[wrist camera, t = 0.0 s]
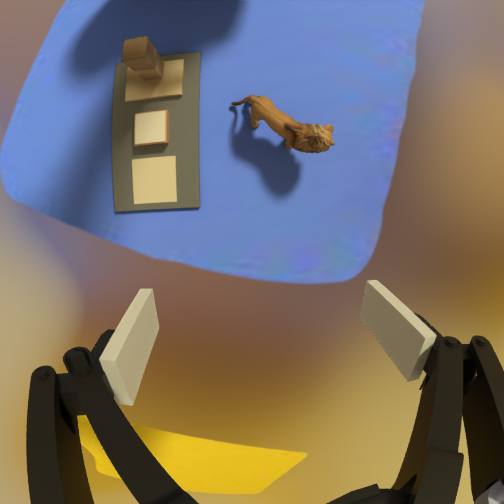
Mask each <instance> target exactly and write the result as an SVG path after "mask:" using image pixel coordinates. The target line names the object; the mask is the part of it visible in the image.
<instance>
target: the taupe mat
mask: <svg viewBox="0 0 504 504" xmlns="http://www.w3.org/2000/svg"><path fill="white" fill-rule="evenodd" d="M161 58H162V59H163V61H172V60H181V59H183V60H184V72H183V95H179V96H169V97H160V98H152V99H144V100H137V101H131V102H126V101H125V93H126V79H127V68H128V66H127V65H126V64H125V63H124V62H122V63H117V64H116V68H115V79H114V91H113V108H112V174H113V192H114V205H115V212H120V211H134V210H150V209H169V208H191V207H200V177H199V95H200V64H201V52H191V53H180V54H171V55H163V56H161ZM159 110H168V111H169V143H165V144H155V145H145V146H134V125H135V114H136V113H143V112H151V111H159Z"/></svg>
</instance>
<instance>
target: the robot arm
mask: <svg viewBox="0 0 504 504" xmlns="http://www.w3.org/2000/svg"><path fill="white" fill-rule="evenodd" d="M360 319H361V320H362V321H363V323H364V324H365V325H366V327H367V328H368V329H369V330H370V332H371V333H372V334H373V336H374V337H375V338H376V340H377V341H378V342H379V344H380V345H381V346H382V348H383V349H384V350H385V352H386V353H387V354H388V356H389V357H390V358H391V360H392V361H393V362H394V364H395V365H396V366H397V368H398V369H399V370H400V372H401V373H402V374H403V376H404V377H405V379H406V380H407V382H409V381H413V380H416V379H419V377H420V375H421V373H422V371H423V370H424V371H425V372H426V376H425V379H424V381H423V383H422V385H421V387H420V390H421V389H422V393H421V398H420V403H419V407H418V412H417V416H416V420H415V424H414V427H413V431H412V435H411V438H410V442H409V445H408V448H407V452H406V454H405V457H404V461H403V463H402V466H401V469H400V472H399V474H398V477H397V479H396V482H395V483H394V485H393V486H392V488H391V489H379V487H378V485H377V484H374V485H371V486H368V487H364V488H361V489H358V490H355V491H351V492H349V493H347V494H345V495H343V496H341V497H339V498H337V499H335V500H333V501H331V502H329V503H327V504H454V503H455V499H456V496H457V491H458V487H459V482H460V477H461V472H462V466H463V460H464V455H463V453H458V447H459V439H460V430H461V420H462V416H463V421H464V427H465V432H466V439H467V447H468V455H469V465H470V478H471V490H472V496H473V501H474V504H504V371H503V368H502V366H501V364H500V362H499V360H498V358H497V356H496V354H495V352H494V350H493V348H492V346H491V344H490V342H489V341H488V340H487V339H486V338H485V337H482V336H474V337H472V339H471V341H470V344H461V342H460V341H459V340H458V339H456V338H454V337H450V336H446V337H443V336H442V335H441V334H440V333H439V332H438V331H437V330H436V329H435V328H434V327H433V326H431V325H430V324H429V323H428V322H427V321H426V320H425V319H424V318H423V317H421V316H420V315H418V314H416V313H413V312H411V311H410V310H409V309H408V308H407V307H406V306H405V305H404V304H403V303H402V302H401V301H400V300H399V299H397V298H396V297H395V296H394V295H393V294H392V293H391V292H390V291H389V290H387V289H386V288H385V287H384V286H383V285H382V284H381V283H379V282H378V281H377V280H370V281H367V283H366V288H365V294H364V299H363V305H362V310H361V315H360ZM158 330H159V324H158V318H157V314H156V307H155V302H154V295H153V289H140V290H139V292H138V294H137V295H136V297H135V298H134V300H133V302H132V303H131V305H130V307H129V308H128V310H127V312H126V313H125V315H124V317H123V318H122V320H121V322H120V323H119V325H118V327H117V328H116V330H110V329H108V330H107V331H105V332H104V333H103V334H102V335H101V336H100V338H99V339H98V342H97V343H96V344H95V347H94V348H93V349H92V351H91V352H90V351H89V350H88V349H87V348H85V347H75V348H72V349H70V350H68V351H67V352H66V353H65V355H64V356H63V362H64V364H65V366H66V368H67V370H68V373H63V374H56V372H55V370H54V369H53V368H52V367H51V366H41V367H39V368H37V369H36V370H35V371H34V372H33V373H32V376H31V382H30V390H29V399H28V411H27V434H26V436H27V437H26V438H27V440H26V449H27V450H26V451H27V473H28V484H29V493H30V500H31V504H94V501H93V498H92V494H91V491H90V487H89V483H88V478H87V474H86V469H85V465H84V460H83V454H82V449H81V443H80V436H79V429H78V421H77V415H86V416H87V418H88V420H89V422H90V424H91V426H92V428H93V430H94V432H95V434H96V436H97V438H98V440H99V441H100V443H101V445H102V447H103V449H104V451H105V452H106V454H107V456H108V458H109V459H110V461H111V463H112V464H113V466H114V467H115V469H116V471H117V472H118V474H119V475H120V477H121V478H122V480H123V481H124V483H125V484H126V486H127V487H128V489H129V490H130V492H131V493H132V494H133V496H134V497H135V499H136V500H137V501H138V503H139V504H199V503H197V502H196V501H195V500H194V499H193V498H192V497H191V496H190V495H189V494H188V493H187V492H185V491H184V490H183V489H182V488H181V487H180V486H179V485H178V484H177V483H176V482H175V481H174V480H173V479H172V478H171V476H170V475H169V474H168V473H167V472H166V471H165V469H164V468H163V467H162V466H161V465H160V463H159V462H158V461H157V460H156V458H155V457H154V456H153V455H152V453H151V452H150V451H149V449H148V448H147V447H146V446H145V444H144V443H143V441H142V440H141V439H140V437H139V436H138V435H137V433H136V432H135V430H134V429H133V427H132V426H131V425H130V423H129V422H128V420H127V419H126V417H125V416H124V414H123V412H122V411H121V409H120V408H119V406H118V405H117V403H116V402H115V400H114V396H115V398H116V401H117V402H118V404H122V405H130V406H133V404H134V401H135V398H136V395H137V392H138V389H139V385H140V382H141V379H142V376H143V373H144V370H145V367H146V364H147V361H148V358H149V356H150V352H151V349H152V347H153V344H154V341H155V338H156V336H157V333H158ZM476 375H477V376H476ZM422 387H423V388H422Z"/></svg>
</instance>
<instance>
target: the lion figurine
mask: <svg viewBox="0 0 504 504" xmlns="http://www.w3.org/2000/svg"><path fill="white" fill-rule="evenodd" d="M247 101H248V102H249V103H250V104H252V105H251V114H250V119H251V125H252V127H253V128H257V127H258V126H259V122H258V121H259V120H261V119H263V120H265V121H266V123H267V124H268V125H269V126H270V128H271V129H272V130H273V131H275V132H276V133H277V134H278V135H280V136H281V137H283V138H285V139H286V141H285V147H286V148H287V149H291V148H294V149H296V150H298V151H301V152H306V153H314V152H315V153H320V152H325V151H327V150H328V149H329V147H330V146H331V145H334V144H335V143H334V141H333V139H332V132H333V129H334V128H333V126H332V125H331V124H329V125H325V126H320V125H319V124H310V125H309V124H302V123H300V122H296V121H295V120H294V119H293V118H291V117H290V116H289V115H287V114H285V113H283V112H281V111H280V110H278V109H277V108H276V107H275V106H274V104H273V103H272V101H271V100H270V99H268V98H266V97H264V96H258V97H256V96H254V95H250V96H249V97H246V98H245V99H243V100H242V101H239V102H232V103H231V105H234V106H238V105H241V104H243V103H245V102H247Z"/></svg>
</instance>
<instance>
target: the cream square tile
mask: <svg viewBox="0 0 504 504" xmlns="http://www.w3.org/2000/svg"><path fill="white" fill-rule="evenodd" d="M165 143H169V111H168V110H159V111H151V112H143V113H136V114H135V125H134V146H145V145H155V144H165Z"/></svg>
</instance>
